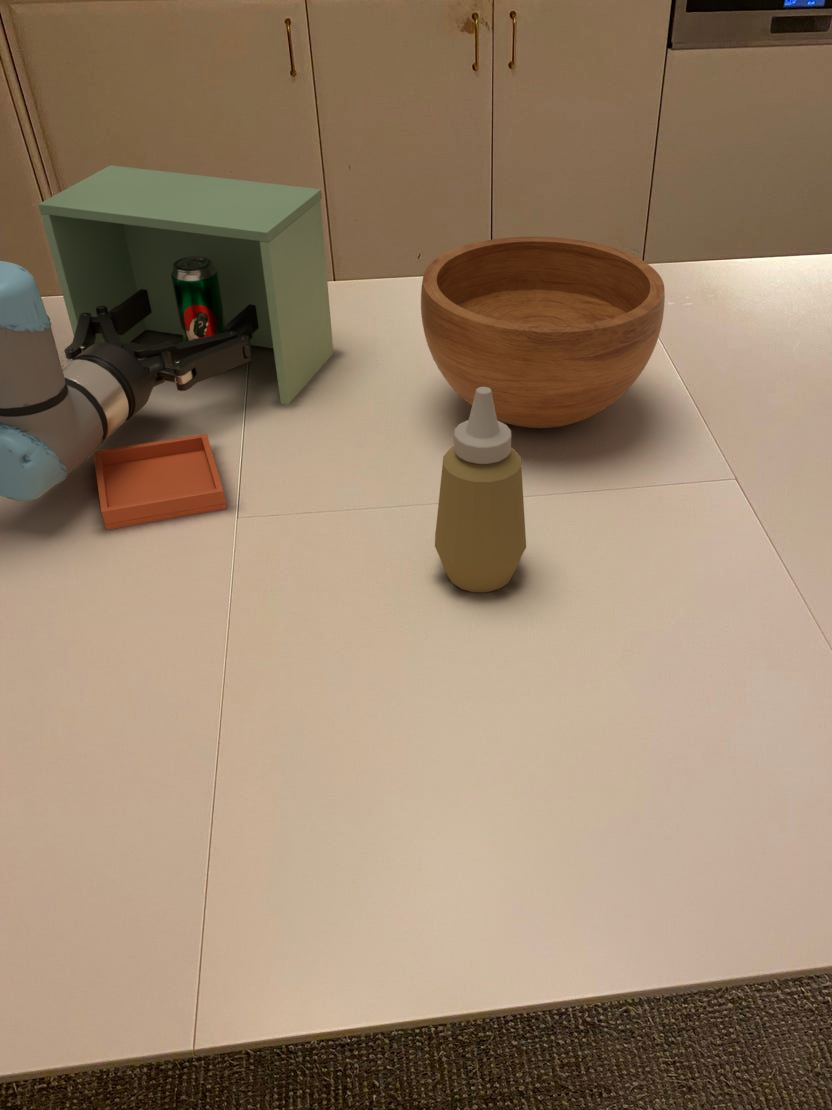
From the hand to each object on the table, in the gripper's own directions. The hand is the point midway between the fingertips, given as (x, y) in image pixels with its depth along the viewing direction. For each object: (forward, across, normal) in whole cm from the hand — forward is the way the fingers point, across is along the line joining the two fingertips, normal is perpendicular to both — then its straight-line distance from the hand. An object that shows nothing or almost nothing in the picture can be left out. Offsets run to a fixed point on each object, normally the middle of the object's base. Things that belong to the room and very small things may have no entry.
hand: (199, 308), depth 113 cm
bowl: (0, +40, -7) cm, 41 cm away
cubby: (0, 0, -7) cm, 7 cm away
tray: (-26, +8, -7) cm, 28 cm away
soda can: (0, 0, -7) cm, 7 cm away
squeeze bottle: (-30, +42, -7) cm, 52 cm away
